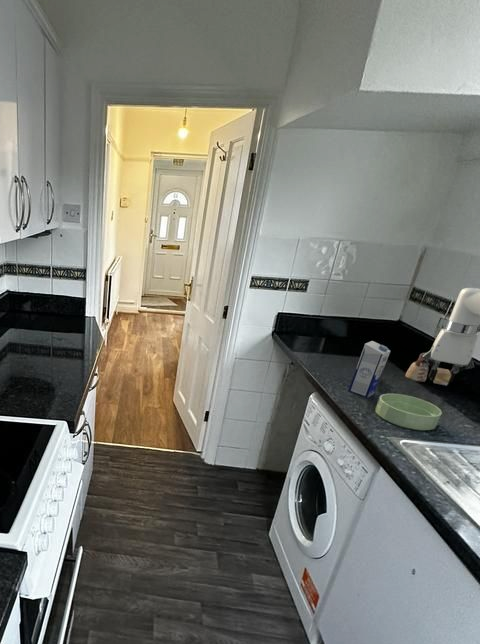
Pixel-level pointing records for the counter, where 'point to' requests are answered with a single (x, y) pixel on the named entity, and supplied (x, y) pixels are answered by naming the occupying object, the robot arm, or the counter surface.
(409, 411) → the bowl
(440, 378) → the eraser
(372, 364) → the milk carton
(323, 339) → the counter surface
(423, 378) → the figurine
